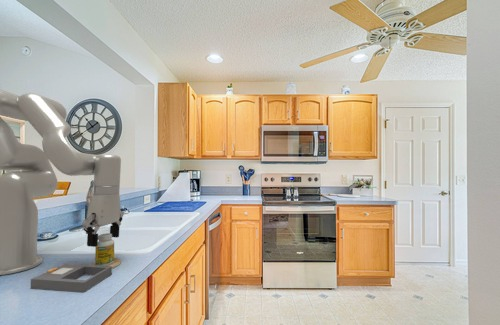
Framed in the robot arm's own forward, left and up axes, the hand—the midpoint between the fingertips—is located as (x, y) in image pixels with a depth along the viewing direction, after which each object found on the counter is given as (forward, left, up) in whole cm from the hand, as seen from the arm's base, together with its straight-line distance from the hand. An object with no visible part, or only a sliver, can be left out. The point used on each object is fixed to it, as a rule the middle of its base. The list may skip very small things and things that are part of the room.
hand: (103, 241), depth 76 cm
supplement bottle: (+1, 0, -8) cm, 8 cm away
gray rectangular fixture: (0, -11, -8) cm, 13 cm away
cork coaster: (+1, 0, -8) cm, 8 cm away
